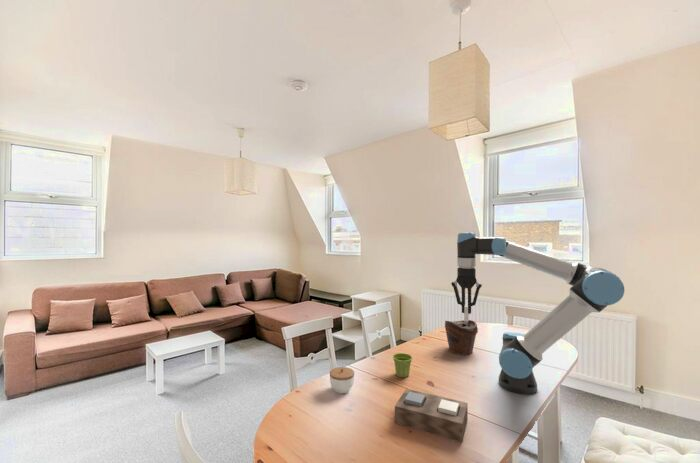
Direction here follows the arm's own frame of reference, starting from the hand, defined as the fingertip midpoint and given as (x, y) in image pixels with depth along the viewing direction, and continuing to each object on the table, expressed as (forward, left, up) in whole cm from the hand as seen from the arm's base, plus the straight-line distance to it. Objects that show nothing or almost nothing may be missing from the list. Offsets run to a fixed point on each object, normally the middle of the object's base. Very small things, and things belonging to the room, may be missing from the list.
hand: (466, 320), depth 137 cm
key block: (+9, +32, -29) cm, 44 cm away
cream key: (+3, +32, -26) cm, 41 cm away
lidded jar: (+48, +27, -30) cm, 63 cm away
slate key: (+14, +32, -26) cm, 44 cm away
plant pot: (+29, +1, -30) cm, 41 cm away
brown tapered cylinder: (+8, -45, -30) cm, 54 cm away
